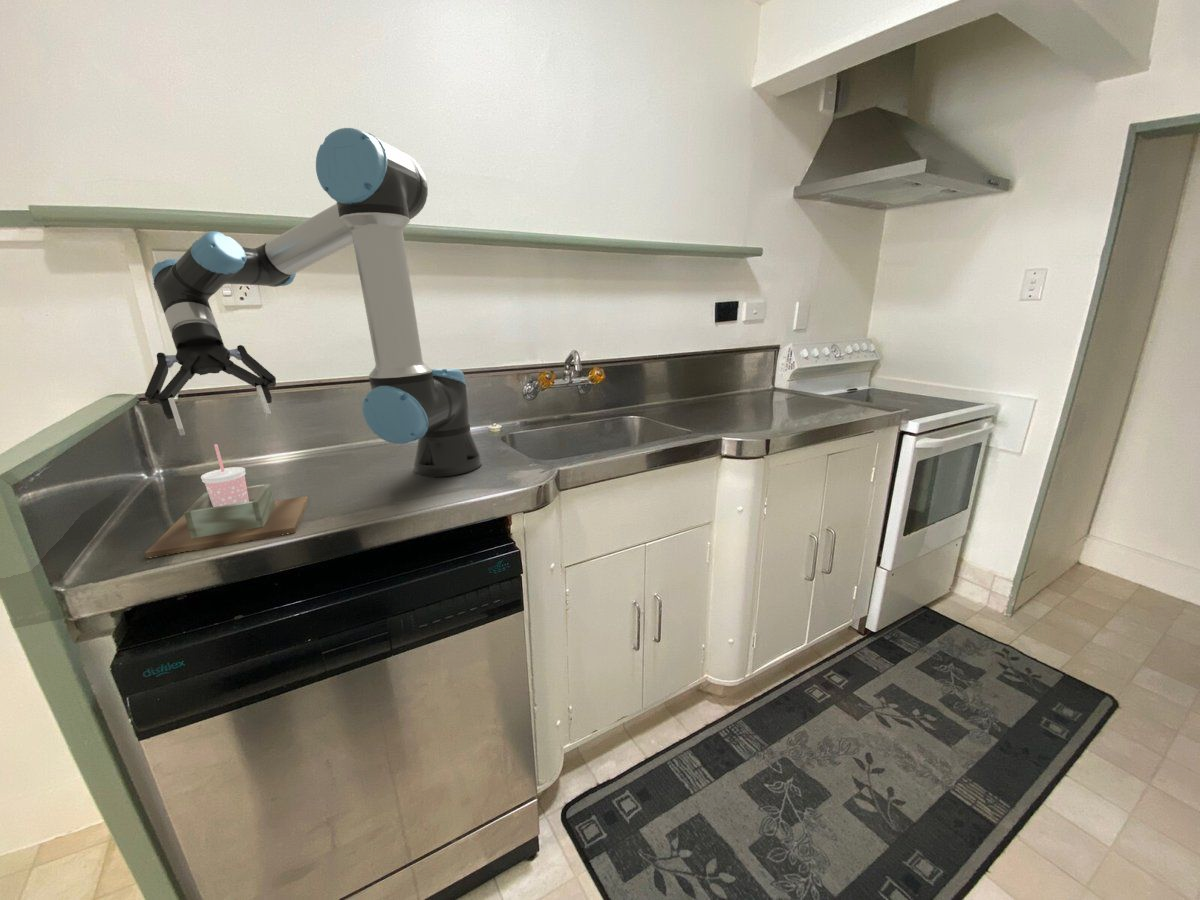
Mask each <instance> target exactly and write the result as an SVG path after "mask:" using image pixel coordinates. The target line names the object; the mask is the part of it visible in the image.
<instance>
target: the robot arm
mask: <svg viewBox="0 0 1200 900" xmlns="http://www.w3.org/2000/svg"><path fill="white" fill-rule="evenodd" d="M315 171H316V177H317V180H318V183H319V185H320V186H321V188H322V189H323V191H324V192H326V194H327V195H329V197H330V198H331V199H332V200H334V201H336V203H334V204H333V205H331V206H330V207H327V208H326V209H324V210H322V211H320V212H319V213H317V214H315V215H313V216H312V217H310V218H308V219H306V220H304V221H303V222H301V223H299V224H297V225H295V226H294V227H292V228H290V229H289V230H287V231H285V232H283V233H282V234H280V235H278V236H275V238H272V239H271V240H268V241H267V242H265V243H264V244H261V245H260V246H258V247H254V248H253V247H244V246H242V245H241V244H240V243H239V242H238V241H236V239H234V238H232V237H230V236H228V235H225V234H224V233H222V232H221V231H216V230H215V231H214V230H213V231H208V232H205V233H204V234H203V235H202V236H201V237H199V238H198V239H197V240H195V241H194V242H193V243H192V244H191V246H190V247H189V248H188V249H187V250H186V251H185V253H184V254H183V255H182V256H181V257H180V258H168V259H165V260H164V261H158V262H156V263H155V264H154V265H153V266H152V268H151V276H152V282H153V286H154V290H155V291H156V294H157V297H158V300H159V302H160V306H161V309H162V311H163V314H164V317H165V320H166V323H167V326H168V329H169V332H170V334H171V338H172V340H173V341H172V342H173V344H174V346H175V347H174V348H175V349H176V354H175V355H174V354H167V355H166V354H165V353H164V352H158V353H157V354H156V361H157V364H156V366H155V368H154V371H153V373H152V375H151V377H150V381H149V382H148V385H147V387H146V390H145V392H144V397H145V399H146V401H147V403H148V404H149V405H154V404H159V405H160V406H161V408H162V411H163V414H164V415H165V416H164V417H165V418H166V419H167V420H172V419H174V421H175V423H176V428H177V430H178V434H179V435H180V437H182V436H186V432H185V429H184V426H183V423H182V420H181V416H180V413H179V409H178V407H177V404H176V402H175V398H176V397H177V395H178V394H179V393H180V392H181V390H182V389H183V387H185V385H186V384H187V383H188V381H189V380H192V379H193V377H194V376H195V375H196V374H197V375H199V376H205V375H208V374H219V373H220V372H223V373H226V374H228V375H232V376H233V377H236V378H237V379H239V380H241V381H242V382H245V383H247V384H248V385H250V386H253V387H254V388H255V389H256V394H257V397H258V399H259V402H260V405H261V408H262V410H263V413H264V416H265V419H266V421H271V420H272V412H271V409H270V407H269V404H272V402H273V397H272V394H271V391H270V388H274V387H276V385H277V379H276V376H275V375H274V374H273V373H272V372H270V371H269V370H267V369H266V367H264V366H263V365H262V364H260V363H259V361H257V360H256V359H255V358H254V357H253V356H251V355H250V354H249V353H248V351H247V349H246V348H245V346H244V345H242V344H239V345H237V347H236V348H232V349H228V348H227V347H226V346H225V344H224V342H223V338H222V336H221V333H220V330H219V329H218V325H217V322H216V319H215V316H214V313H213V311H212V308H211V306H210V302H209V300H210V298H211V297H212V296H213V295H214V294H216V293H217V292H218V291H219V290H220V289H221V288H222V287H223V286H224V285H226V284H227V285H229V284H230V285H245V286H246V285H247V286H248V285H249V286H266V287H272V288H276V287H283V286H284V287H285V286H289V285H290V284H292V283H293V282H294V279H295V278H296V276H297V273H298V272H300V271H302V270H304V269H306V268H308V267H310V266H312V265H314V264H316V263H317V262H320V261H322V260H323V259H325V258H327V257H329V256H331V255H333V254H335V253H337V252H338V251H341V250H343V249H345V248H346V247H349V246H351V245H353V247H354V253H355V260H356V263H357V268H358V269H357V271H358V274H359V275H358V276H359V281H360V286H361V291H362V297H363V302H364V308H365V313H366V318H367V323H368V325H367V326H368V331H369V336H370V339H371V341H370V342H371V346H372V351H373V358H374V362H375V363H374V364H375V365H374V368H373V369H372V370H371V372H370V373H369V375H368V379H369V385H370V389H371V390H370V391H368V393H367V394H366V397H365V398H364V399H363V401H362V406H361V407H362V415H363V419H364V421H365V423H366V425H367V426H368V428H369V430H370V431H371V432H372V433H374V434H375V435H377V436H378V437H379V438H380V439H382V440H383V441H385V442H386V443H387V442H388V443H391V444H398V445H403V444H407V443H410V442H415V441H417V444H416V449H415V454H414V459H413V466H414V472H415V474H417V475H419V476H422V477H430V478H431V477H433V478H435V477H436V478H439V477H441V478H442V477H451V476H457V475H461V474H465V473H469V472H472V471H475V470H476V469H478V468H479V467H480V466H481V465H482V455H481V451H480V450H479V447H478V445H477V443H476V441H475V439H474V437H473V434H472V432H471V424H470V423H471V422H470V415H469V414H470V413H469V405H468V395H467V383H466V380H465V374H464V372H463V371H462V370H460V369H457V368H431V367H429V366H428V365H427V364H426V363H424V361H423V356H422V355H423V354H422V349H421V342H420V335H419V329H418V323H417V318H416V317H417V316H416V311H415V310H416V309H415V302H414V298H413V291H412V285H411V284H412V283H411V275H410V272H409V271H410V270H409V264H408V258H407V251H406V244H405V238H404V230H405V228H406V226H408V225H409V223H410V221H411V220H412V219H414V218H415V217H416V216H418V215H419V213H421V211H423V209H424V208H425V205H426V203H427V199H428V192H429V191H428V190H429V189H428V182H427V179H426V176H425V173H424V171H423V169H422V168H421V166H420V165H419V164H418V163H417V161H416V160H415V159H414V158H413V157H411V155H409V154H408V153H405V152H404V151H402V150H399V149H398V148H395V147H394V146H392V145H390V144H388V143H386V142H384V141H382V140H380V139H379V138H378V137H376V136H375V135H373V134H372V133H370V132H367V131H366V132H365V131H363V130H360V129H357V128H354V127H342V128H338V129H336V130H334V131H332V132H330V133H329V134H327V136H326V137H325V138H324V141H323V143H322V144H320V145H319V147H318V150H317V153H316V158H315ZM231 357H232V358H233V357H234V358H235V359H236V360H238V361H241V362H242V363H243V364H244V366H246V367H247V368H248V369H250V371H252V372H250V371H249V370H247V369H245V368H243V367H242V366H240V365H237V364H236V363H234V361H233V360H231ZM175 363H177V364H179V365H180V367H179V370H178V371H177V372H176V374H175V375H174V376H173V377H172V378H171V380H170V381H169V382H168V384H167V385H165V387H164V388H163V386H164V384H165V382H166V379H167V376H168V373H169V369H170V368H172V367H173V366H174V364H175ZM162 389H163V390H162ZM161 390H162V391H161Z"/></svg>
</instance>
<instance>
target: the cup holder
mask: <svg viewBox="0 0 1200 900" xmlns="http://www.w3.org/2000/svg"><path fill="white" fill-rule="evenodd" d="M246 487H247V493H248V499H249V502H244V503H238V504H231V505H224V506H218V507H213V505H212V502H211V499H210V496H209V494H208V491H206V492H203V494H202V495H200V497H198V498H197V500H195V501H194V502H193V504H192V505H190V507H188V508H187V510H185V512H183V515H181V516H180V518H179V519H178V520H176V521H175V522H174V523H173V524H172V525H171V527H169V528H168V530H167V531H166V532H165V533H163V535H162V536H160V537H159V538H158V539H157V540H156V541H155V542H154V543H153V545H151V546H150V547H149V548H148V549H147V550H146V551H145V552H144V555H145V558H149V557H155V556H161V557H163V556H162V555H167V554H173V555H175V554H174V553H178V554H181V553H180V552H184V553H186V552H185V551H190V552H193V551H192V550H195V551H198V550H197V549H201V550H205V549H204V548H207V549H211V548H210V547H212V548H217V547H216V546H218V547H223V546H222V545H224V546H228V545H227V544H229V545H233V544H232V543H235V544H240V543H239V542H241V543H245V542H244V541H247V542H250V541H249V540H252V541H257V539H258V540H262V539H263V538H264V539H268V538H267V537H269V538H274V537H273V536H275V537H279V536H278V535H281V536H283V535H282V534H286V535H288V534H287V533H292V534H294V533H293V532H296V533H297V531H296V530H298V528H299V526H298V525H300V523H301V521H302V518H303V515H304V513H305V511H306V509H305V508H307V505H308V503H309V496H308V495H306V496H301V497H292V498H285V499H280V500H274V499H275V498H274V496H273V490H272V486H271V483H265V484H258V485H251V486H246ZM300 520H301V521H300ZM297 527H298V528H297ZM264 539H263V540H264ZM167 556H168V555H167Z"/></svg>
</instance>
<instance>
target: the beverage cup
mask: <svg viewBox="0 0 1200 900" xmlns="http://www.w3.org/2000/svg"><path fill="white" fill-rule="evenodd" d="M213 445H214V450H215V453H216V457H217V460H218V464H219V469H215V470H214V469H213V470H211V471H208V472H205V473H204V474H202V475H201V476H200V479H201V481H202V483H204V485H205V487H206V492H208V494H209V496H210V499H211V502H212V505H213V507H218V506H224V505H231V504H238V503H244V502H249V499H248V493H247V487H248V486H247V483H246V477H245V475H246V468H245V467H242V466H241V467H240V466H235V467H234V466H233V467H224V463H223V460H222V456H221V452H220V449H219V445H218V444H217V443H215V444H213Z"/></svg>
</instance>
